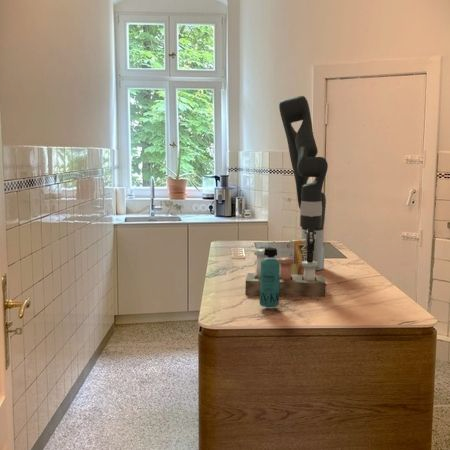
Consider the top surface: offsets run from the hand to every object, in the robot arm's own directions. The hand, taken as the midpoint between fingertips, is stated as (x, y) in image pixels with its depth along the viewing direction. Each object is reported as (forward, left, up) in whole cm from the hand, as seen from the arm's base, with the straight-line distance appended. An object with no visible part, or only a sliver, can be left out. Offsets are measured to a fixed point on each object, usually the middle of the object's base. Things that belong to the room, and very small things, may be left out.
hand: (309, 261), depth 191 cm
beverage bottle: (+25, +7, -11) cm, 29 cm away
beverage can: (-3, -27, -11) cm, 29 cm away
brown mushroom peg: (+6, -6, -10) cm, 13 cm away
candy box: (-14, -18, -11) cm, 25 cm away
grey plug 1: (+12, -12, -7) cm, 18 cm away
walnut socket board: (+6, -6, -11) cm, 14 cm away
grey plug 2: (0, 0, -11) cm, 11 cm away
